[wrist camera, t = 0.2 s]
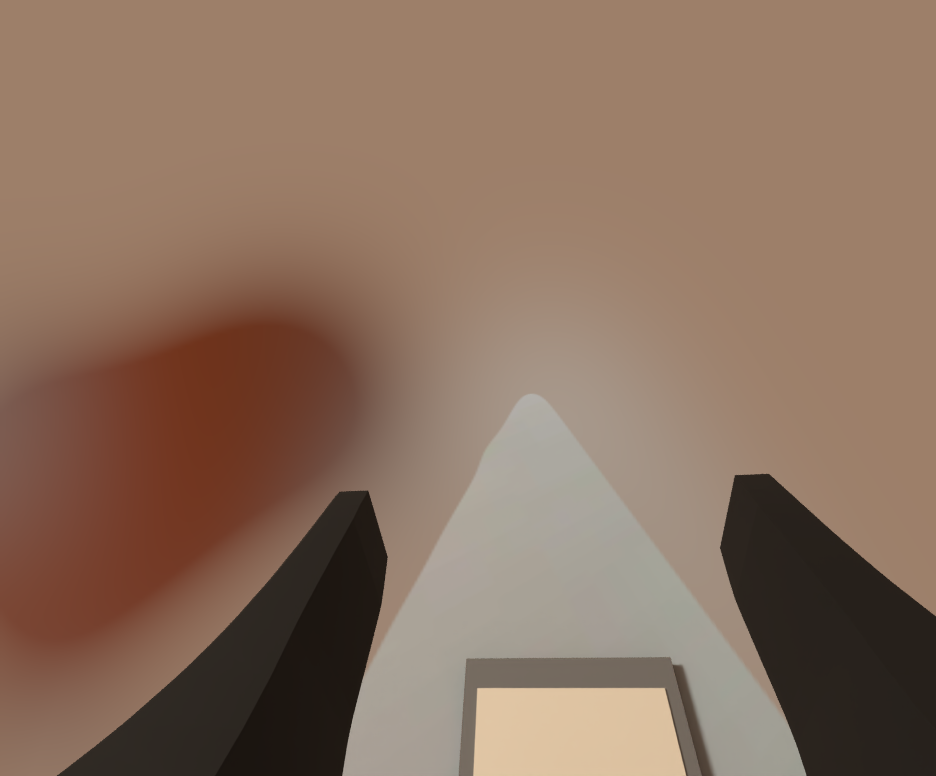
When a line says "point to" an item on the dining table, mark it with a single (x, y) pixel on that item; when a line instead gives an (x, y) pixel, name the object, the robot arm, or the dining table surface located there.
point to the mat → (574, 718)
